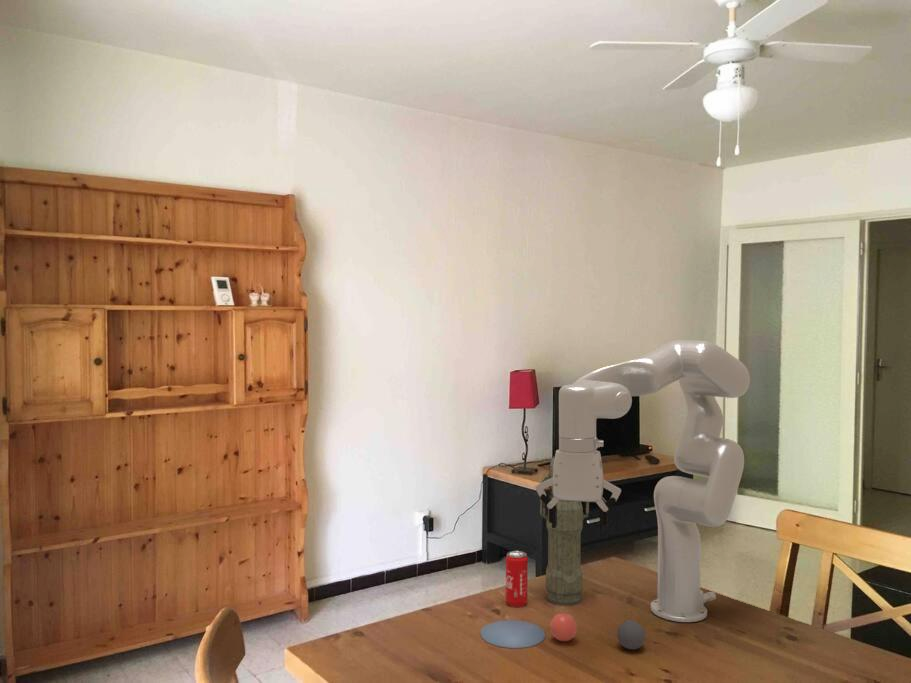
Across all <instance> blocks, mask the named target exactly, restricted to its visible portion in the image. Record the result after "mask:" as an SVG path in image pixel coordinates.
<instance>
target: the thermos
mask: <svg viewBox="0 0 911 683" xmlns="http://www.w3.org/2000/svg"><path fill="white" fill-rule="evenodd" d="M554 460H555V456H553V457H551V460H550V463H549V466H548V467H549V468H548V474H547V475H543V477H542V478H541V480H540V481H539V484H540V483H542V482H544V481H546V480H548V479H550V478H553V469H554ZM548 489H549V493H548V496H549V497H550V498H552V497H553V485H551V486H549V487H548ZM544 491H545V492H546V488H545V489H544ZM539 500H540V501H539V504H540V505H539V506H540V507H539V514H540V515H541V517H542V518H543V519H545V521H546V522H545V523H546V524H545V526H546V529H547V535H548V536H547V539H548V540H547V544H548V545H547V549H548V550H547V563H548V564H547V566H546V569H545V590H546V594H545V595H546V600H547V601H548V603H551V604H554V605H558V606H575V605H578V604H580V603H581V602H582V601H583V598H582V597H583V596H582V595H583V594H582V592H583V590H584V589H583V585H584V584H583V582H584V581H583V578H584V577H583V576H584V574H583V570H582V568H581V547H582V546H581V543H582V542H581V536H582V534H581V533H582V530H583V526H584V525H583V523H584V522H583V521H584V520H585V518H586V519H587V518H589V514H590V513H589V512H590V502H583V504H582V502H581V501H563V500H559V501H558V502H557V503H556V507H557V526H556V528H552V523H549V508H548V507H547V505H546V504H545V503H544V502H543V501H542V500H541V499H540V498H539Z"/></svg>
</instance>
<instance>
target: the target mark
mask: <svg viewBox="0 0 911 683" xmlns="http://www.w3.org/2000/svg"><path fill="white" fill-rule="evenodd" d="M545 632H546V631H545V630H543V628H542V627H540V626H538V625H537V624H534V623H531V622H528V621H525V620H524V621H523V620H516V619H503V620H497V621H493V622H490V623H488V624H486V625H484V626H483V627H482V628H481V629H480V637H481V638H482V640H484V642H486V643H488V644H490V645H493V646H494V647H495V646H496V647H498V648H499V647H500V648H505V649H526V648H530V647H535V646H537V645H540V644H541V643H542V642H543V641H544V640H545V639H546V633H545Z"/></svg>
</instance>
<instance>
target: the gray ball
mask: <svg viewBox="0 0 911 683" xmlns="http://www.w3.org/2000/svg"><path fill="white" fill-rule="evenodd" d="M616 632H617V633H616V635H617V640H618V642H619V643H620V645H621V646H622V647H624V648H626V649H627V650H638V649H639V648H641V647H642V646H643V644H644V643H645V640H646V634H645V633H646V632H645V630H644V628H643V626H642V625H641V624H640V623H639V622H637V621H634V620H626V621H623V622H622V623H621V624H620V625H619V627H618V628H617V631H616Z"/></svg>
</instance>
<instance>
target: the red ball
mask: <svg viewBox="0 0 911 683" xmlns="http://www.w3.org/2000/svg"><path fill="white" fill-rule="evenodd" d="M577 631H578V625H577V622H576V619H574V617H573V616H572V615H570V614H568V613H566V612H565V613H564V612H563V613H562V612H560V613H558V614H556V615H554V616H553V618H552V619H551V621H550V632H551V635H552V636H553V637H554V638H555V639H556V640H558V641H559V642H569V641H571V640H572V639H573V638H574V637H575V636H576V634H577Z"/></svg>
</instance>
